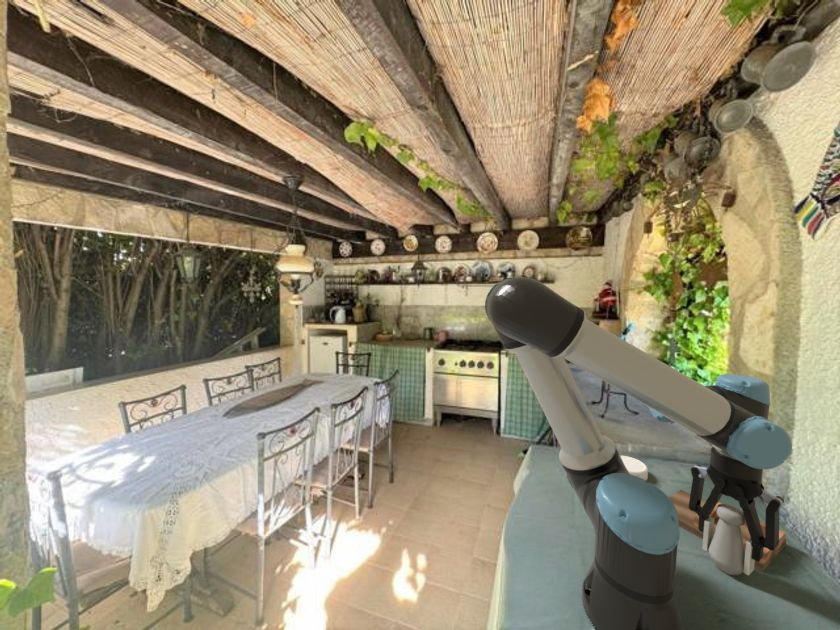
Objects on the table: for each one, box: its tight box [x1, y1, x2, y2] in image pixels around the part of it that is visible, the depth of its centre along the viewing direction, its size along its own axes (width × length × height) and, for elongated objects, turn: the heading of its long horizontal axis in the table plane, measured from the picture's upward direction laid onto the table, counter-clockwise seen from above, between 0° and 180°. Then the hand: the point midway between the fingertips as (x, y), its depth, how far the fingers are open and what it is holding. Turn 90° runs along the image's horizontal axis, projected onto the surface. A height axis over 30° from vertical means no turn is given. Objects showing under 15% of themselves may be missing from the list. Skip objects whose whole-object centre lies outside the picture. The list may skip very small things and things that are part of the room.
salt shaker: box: [707, 503, 745, 576], centre depth 66 cm, size 6×6×13 cm
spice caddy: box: [668, 489, 787, 573], centre depth 78 cm, size 14×20×4 cm
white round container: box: [620, 455, 649, 482], centre depth 100 cm, size 10×10×4 cm
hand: (727, 558), depth 67 cm, fingers closed on salt shaker, 6 cm apart
